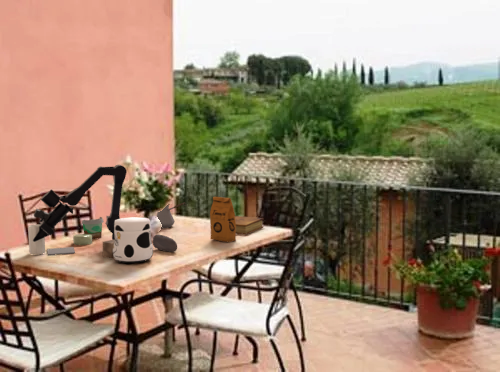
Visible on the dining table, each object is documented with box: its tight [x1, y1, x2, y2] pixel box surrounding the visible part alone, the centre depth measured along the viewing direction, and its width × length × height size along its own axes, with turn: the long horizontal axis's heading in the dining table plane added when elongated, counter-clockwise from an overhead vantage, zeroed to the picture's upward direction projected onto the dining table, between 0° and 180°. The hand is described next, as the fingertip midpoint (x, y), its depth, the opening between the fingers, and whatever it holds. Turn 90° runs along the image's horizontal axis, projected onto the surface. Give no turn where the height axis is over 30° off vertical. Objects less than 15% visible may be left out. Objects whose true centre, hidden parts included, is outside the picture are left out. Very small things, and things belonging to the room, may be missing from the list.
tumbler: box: [27, 223, 46, 255], centre depth 294 cm, size 6×6×13 cm
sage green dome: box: [72, 233, 93, 246], centre depth 316 cm, size 9×9×4 cm
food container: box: [81, 216, 104, 240], centre depth 328 cm, size 12×6×10 cm, turn 143°
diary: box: [235, 215, 264, 235], centre depth 350 cm, size 23×19×6 cm
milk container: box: [113, 216, 154, 264], centre depth 278 cm, size 17×17×18 cm
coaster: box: [46, 246, 76, 256], centre depth 298 cm, size 12×12×1 cm
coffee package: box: [209, 196, 237, 243], centre depth 319 cm, size 10×12×22 cm
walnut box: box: [102, 239, 115, 260], centre depth 287 cm, size 6×6×7 cm
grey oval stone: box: [152, 234, 178, 253], centre depth 298 cm, size 15×5×7 cm, turn 46°
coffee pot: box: [156, 201, 187, 229], centre depth 355 cm, size 21×12×15 cm, turn 57°
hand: (33, 239), depth 293 cm, fingers closed on tumbler, 7 cm apart
